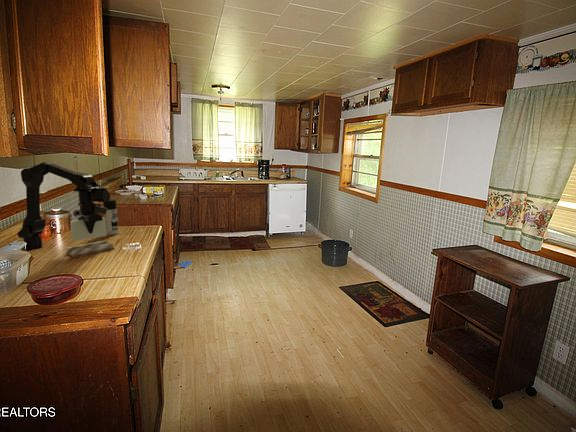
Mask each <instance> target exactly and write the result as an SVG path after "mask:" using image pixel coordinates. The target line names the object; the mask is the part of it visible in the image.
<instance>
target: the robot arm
mask: <svg viewBox="0 0 576 432" xmlns="http://www.w3.org/2000/svg"><path fill="white" fill-rule="evenodd" d="M49 173H50V174H53V175H54V176H55V175H56V176H58V177H60V178H63V179H66V180H68V181H69V182H71V184H72V185H74V186H76V187H75V188H74V189H73V190H72V191H73V192H78V193H77V194H78V202H77V206H79V209H75V210H74V211H73V212H72V214H73V217H76V219H77V220H83V219H85V220H84V221H83V222H84V224H85V226H86V228H87V230H88V232H89V233H90V234H91V233H92V232H93V228H94V225H95V223H96V222H97V221H102V220H103V217H104V216H103V215H104V214H105V215H106V212H107V209H108V208H105V207H104V206H102V204H101V203H103V202H108V201H109V200H110V199H111V193H110V191H109V190H108V189H107V187H100V185H99V184H98V183H97V182H96V180H95V179H94V177H93V175H92V174H89V173H84V172H77V171H74V170H71V169H68V168H66V167H63V166H60V165H57V164H55V163H53V162H51V161H46V162H45V161H44V162H43V161H42V162H41V163H39V164H36V165H34V166H31V167H26V168H23V169H21V171H20V177H21V182H22V183H23V184H24V185H25V189H26V194H25V195H26V199H25V201H26V216H25V218H24V219H23V220H22V224H21V225H22V226H21V229H20V230H19V231H18V232H17V234H16V235H17V237H18V238H20V239H22V242H23V241H24V242H26V243H27V245H26V250H25V251H30V250H36V249H41V248H43V242H42V241H43V240H42V239H43V238H42V237H41V236H40V235H42V234H43V233H44V232H43V231H44V230H45V228H46V218H43V217H42V216H41V212H40V209H41V207H40V206H41V203H40V200H41V199H40V196H41V195H40V193H41V192H40V187H41V185H42V184H43V182H44V179H45V176H46V175H48V174H49ZM96 202H97V203H96ZM101 214H102V215H101Z"/></svg>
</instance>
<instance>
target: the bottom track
mask: <svg viewBox="0 0 576 432" xmlns="http://www.w3.org/2000/svg"><path fill="white" fill-rule="evenodd" d="M113 250H115V246H114V243H113V242H111V243H109V242H108V240H107V239H106V240H101V241H96V242H91V243H85V244H80V245H74V246H71V247H70V246H68V247H66V251H65V253H66V254H67V255H68V256H70V257H72V258H73V259H76V258H81V257H84V256H90V255H94V254H99V253H103V252H108V251H109V252H110V251H113Z"/></svg>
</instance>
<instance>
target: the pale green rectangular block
mask: <svg viewBox="0 0 576 432" xmlns="http://www.w3.org/2000/svg"><path fill="white" fill-rule="evenodd" d="M102 217H103V220H102V221H97V222H96V223H95V225H94V228H93V232H92V233H91V234H90V233H89V232H88V230H87V228H86V226H85V224H84V222H83V221H84V220H85V219H83V220H78V219H77V220H70V221H69V224H70V225H69V226H70V233H71V240H72V241H74V242H77V241H83V240H89V239H95V238H101V237H107V236H108V234H106V221H105V217H104V216H102Z"/></svg>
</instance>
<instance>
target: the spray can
mask: <svg viewBox="0 0 576 432" xmlns="http://www.w3.org/2000/svg"><path fill="white" fill-rule="evenodd" d="M102 203H103V206H102V207H105V208H108V209H107V212H106V215H105V214H103V215H104V216H103V217H104V218H105V221H106V234H107V236H108V235H109V236H111V235H113V236H114V235H118V234H120V233H119V232H120V230H119V218H118V208H117V200H116V199H111V198H110V200H109V201H108V202H102Z"/></svg>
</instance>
